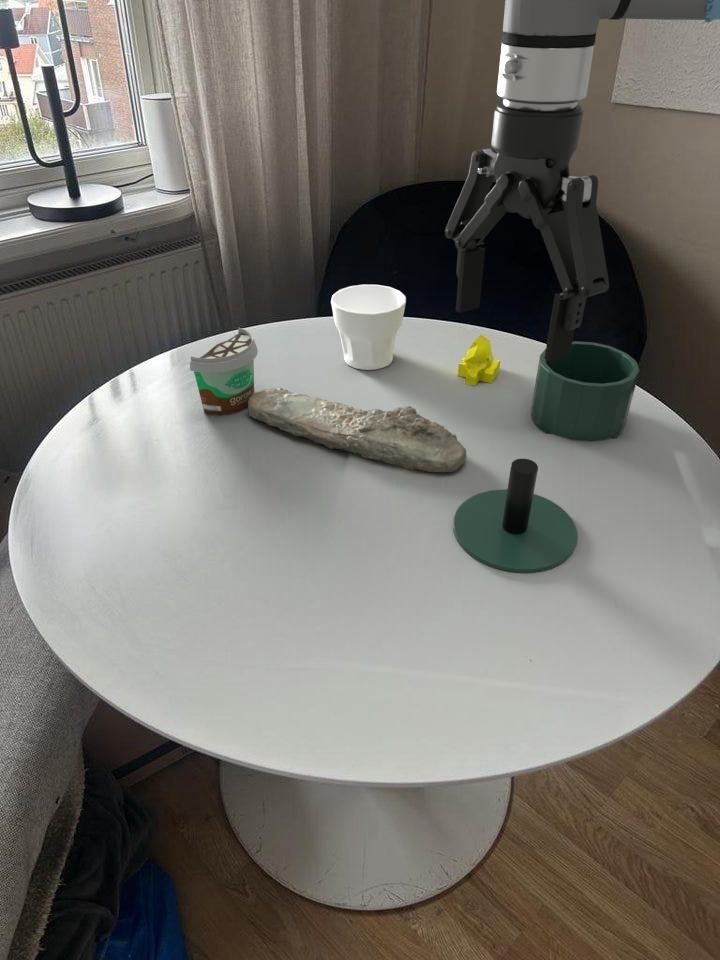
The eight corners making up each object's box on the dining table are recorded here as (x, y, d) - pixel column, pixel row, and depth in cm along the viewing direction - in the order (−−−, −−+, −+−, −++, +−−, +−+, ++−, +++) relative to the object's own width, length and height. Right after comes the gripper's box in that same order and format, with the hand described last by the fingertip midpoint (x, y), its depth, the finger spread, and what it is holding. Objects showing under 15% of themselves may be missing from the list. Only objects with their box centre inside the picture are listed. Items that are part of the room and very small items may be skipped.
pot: (617, 399, 111) (630, 344, 105) (630, 447, 100) (646, 389, 95) (529, 393, 113) (538, 338, 107) (532, 440, 102) (542, 382, 96)
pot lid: (570, 502, 91) (585, 435, 84) (581, 583, 79) (599, 512, 73) (455, 491, 92) (461, 426, 86) (449, 569, 81) (456, 500, 75)
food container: (229, 427, 105) (221, 367, 99) (197, 416, 108) (188, 357, 102) (277, 391, 114) (272, 334, 108) (247, 382, 116) (240, 326, 110)
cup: (380, 337, 129) (380, 278, 123) (418, 364, 121) (421, 303, 114) (320, 353, 124) (317, 293, 118) (355, 383, 116) (354, 320, 109)
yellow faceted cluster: (502, 367, 120) (508, 325, 115) (487, 389, 114) (492, 345, 109) (469, 360, 122) (473, 318, 117) (453, 381, 116) (456, 337, 111)
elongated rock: (272, 400, 114) (236, 433, 107) (267, 372, 111) (229, 404, 104) (477, 448, 99) (450, 489, 93) (478, 416, 96) (450, 457, 89)
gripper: (418, 87, 67) (409, 299, 80) (625, 131, 50) (573, 391, 63) (478, 80, 71) (461, 285, 83) (692, 120, 54) (629, 369, 66)
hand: (509, 331), depth 73 cm, fingers open, 13 cm apart
